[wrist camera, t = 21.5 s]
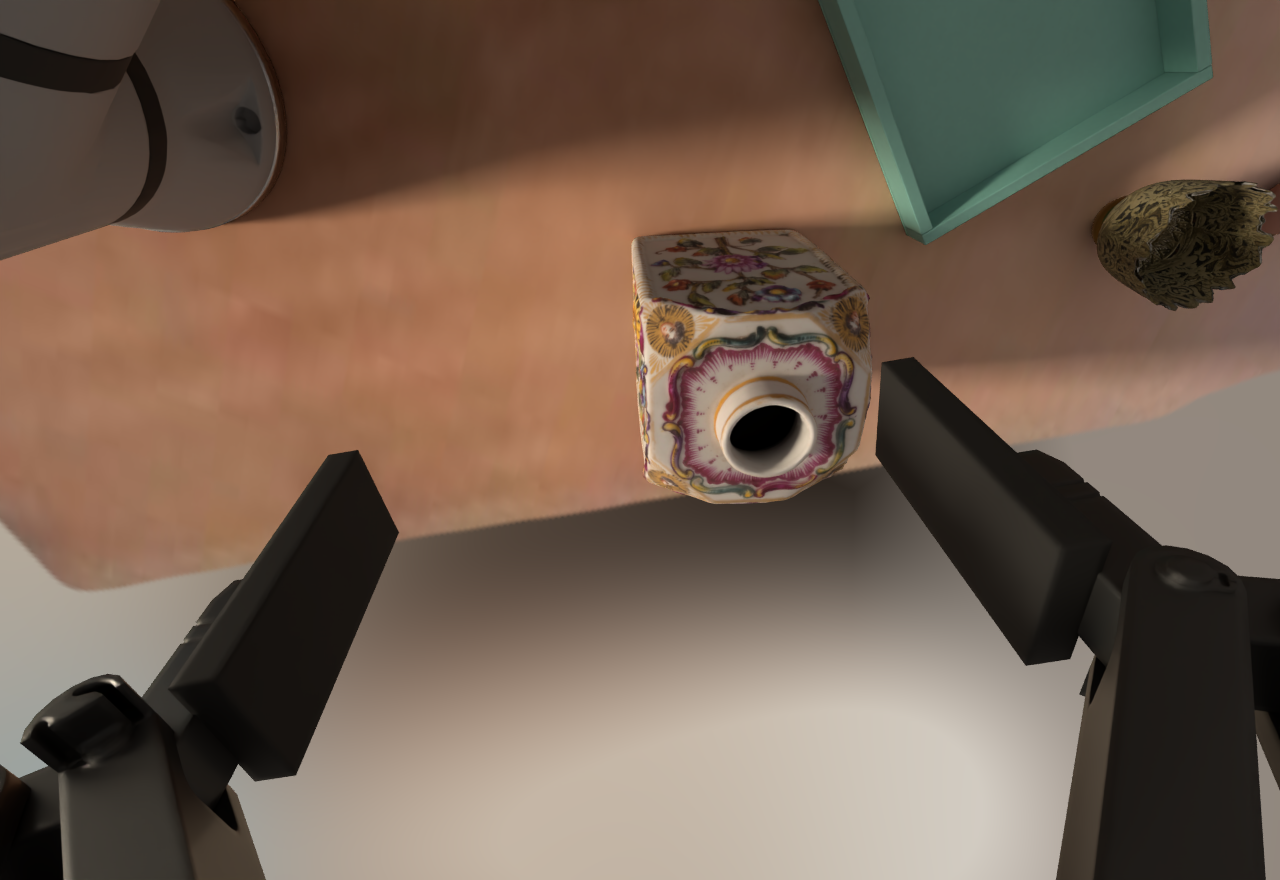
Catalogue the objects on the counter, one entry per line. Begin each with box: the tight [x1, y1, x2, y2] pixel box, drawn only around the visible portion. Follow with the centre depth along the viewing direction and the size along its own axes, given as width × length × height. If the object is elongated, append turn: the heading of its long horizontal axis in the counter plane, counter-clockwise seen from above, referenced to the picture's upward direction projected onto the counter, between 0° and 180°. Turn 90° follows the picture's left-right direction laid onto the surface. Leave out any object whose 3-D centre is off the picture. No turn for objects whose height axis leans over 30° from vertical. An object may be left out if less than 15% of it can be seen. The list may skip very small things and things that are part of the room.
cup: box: [1091, 180, 1278, 311], centre depth 39 cm, size 8×7×8 cm
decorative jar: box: [631, 230, 872, 504], centre depth 36 cm, size 12×12×18 cm
